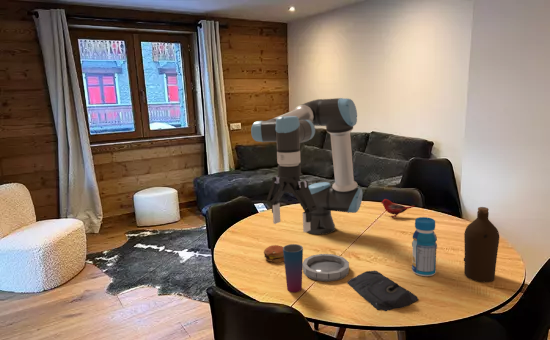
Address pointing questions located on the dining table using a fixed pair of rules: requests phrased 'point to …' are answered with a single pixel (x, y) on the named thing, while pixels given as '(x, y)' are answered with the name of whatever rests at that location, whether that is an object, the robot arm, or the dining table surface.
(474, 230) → the olive oil
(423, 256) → the beverage bottle
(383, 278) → the dark slate chunk
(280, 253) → the burger
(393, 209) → the decorative bird figurine
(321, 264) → the tray
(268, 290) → the dining table surface
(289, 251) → the cup
